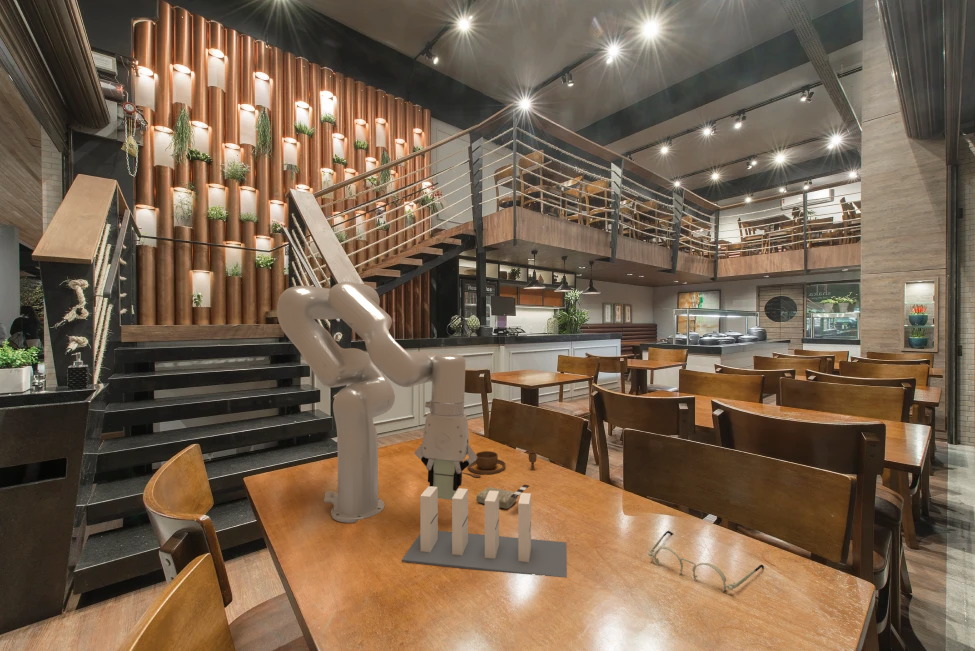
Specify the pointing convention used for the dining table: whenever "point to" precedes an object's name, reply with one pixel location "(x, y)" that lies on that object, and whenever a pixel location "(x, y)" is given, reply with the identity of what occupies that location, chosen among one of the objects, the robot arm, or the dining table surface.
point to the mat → (542, 561)
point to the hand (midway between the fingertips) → (444, 486)
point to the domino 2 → (459, 521)
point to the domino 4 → (524, 527)
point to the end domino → (444, 478)
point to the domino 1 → (429, 518)
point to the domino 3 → (491, 524)
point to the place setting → (492, 463)
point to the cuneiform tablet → (502, 496)
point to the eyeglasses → (729, 586)
